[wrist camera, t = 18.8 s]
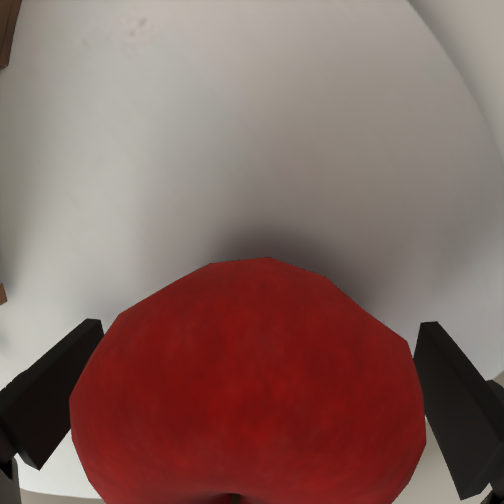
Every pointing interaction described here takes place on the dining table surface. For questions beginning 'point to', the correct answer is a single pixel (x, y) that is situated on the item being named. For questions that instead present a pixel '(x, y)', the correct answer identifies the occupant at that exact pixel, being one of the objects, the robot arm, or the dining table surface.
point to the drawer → (2, 294)
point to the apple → (249, 395)
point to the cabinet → (7, 27)
